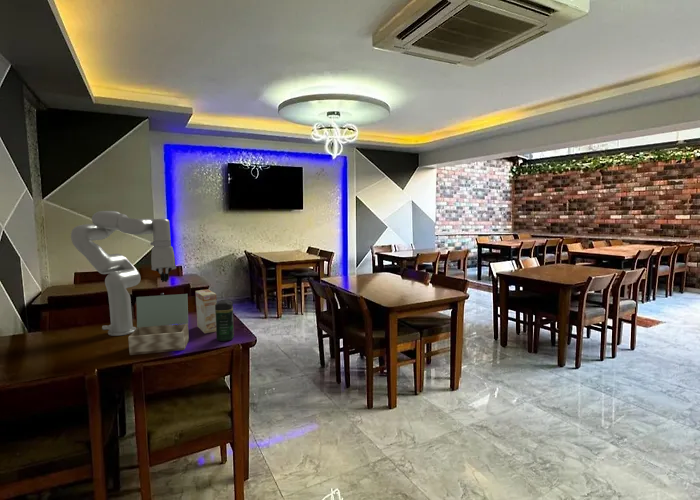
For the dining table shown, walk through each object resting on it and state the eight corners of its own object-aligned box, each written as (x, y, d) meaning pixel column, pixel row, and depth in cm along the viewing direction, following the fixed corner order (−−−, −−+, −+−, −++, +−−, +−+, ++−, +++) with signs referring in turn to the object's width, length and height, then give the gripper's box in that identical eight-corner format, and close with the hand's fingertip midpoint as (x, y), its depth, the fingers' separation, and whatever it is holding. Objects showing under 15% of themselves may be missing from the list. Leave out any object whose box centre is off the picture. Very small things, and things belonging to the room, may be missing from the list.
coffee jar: (232, 341, 187) (230, 302, 185) (215, 342, 186) (213, 303, 184) (235, 334, 197) (233, 298, 195) (219, 335, 196) (217, 298, 194)
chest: (129, 355, 171) (128, 337, 170) (138, 344, 185) (137, 327, 184) (184, 349, 177) (183, 332, 176) (188, 339, 190) (187, 323, 189)
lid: (136, 294, 185) (137, 294, 186) (137, 327, 184) (137, 327, 185) (186, 291, 190) (187, 291, 192) (187, 323, 189) (188, 323, 191)
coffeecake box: (218, 331, 203) (216, 293, 201) (204, 333, 199) (202, 295, 197) (210, 324, 215) (208, 288, 213) (197, 326, 211) (194, 290, 209)
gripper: (143, 245, 188) (146, 283, 190) (177, 244, 191) (180, 281, 193) (147, 244, 195) (149, 281, 197) (180, 243, 199) (182, 279, 201)
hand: (164, 281), depth 195 cm, fingers closed
